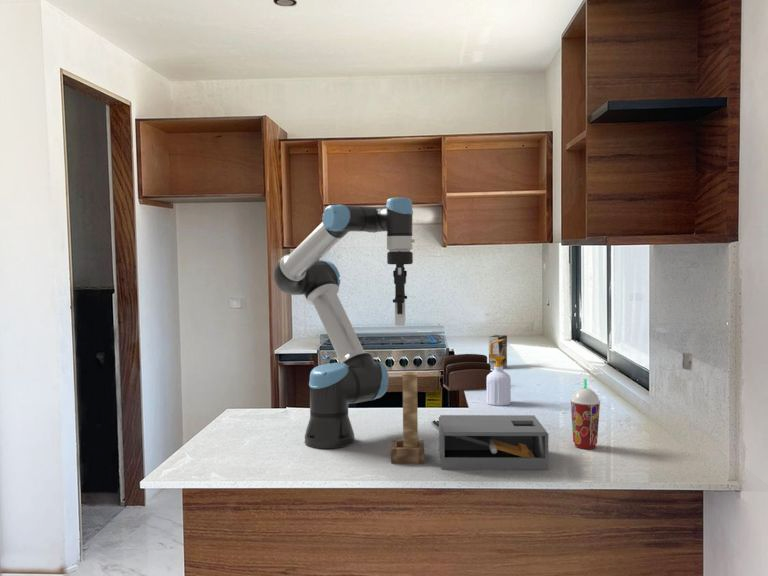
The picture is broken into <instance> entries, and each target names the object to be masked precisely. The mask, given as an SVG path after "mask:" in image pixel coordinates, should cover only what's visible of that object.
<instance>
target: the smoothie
mask: <svg viewBox="0 0 768 576" xmlns="http://www.w3.org/2000/svg"><path fill="white" fill-rule="evenodd" d="M583 382H584V383H583V384H584V385H583V386H584V388H583V387H582V388H580V389H577V390H576V391H575V392H574V393H573V395H572V397H571V398H570V408H571V409H570V410H571V428H572V441H573V443H574V446H575V447H576V448H578V449H582V450H593V449H595V448H596V446H597V444H598V438H599V437H598V435H599V421H600V409H601V400H600V399H599V397H598V395H597V393H596V391H594V390H592V389H590V388H588V387H587V386H588V385H587V383H588V381H587V378H585V379H584V381H583Z"/></svg>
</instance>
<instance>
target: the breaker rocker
mask: <svg viewBox="0 0 768 576" xmlns="http://www.w3.org/2000/svg"><path fill="white" fill-rule="evenodd" d="M454 437H457V438H460V439H464V440H467V441H471V442H474V443H477V444H481V445H484V446H487V447H489V448H490V450H489V451H490V452H491V454H492V455H496V454H497V453H498V451H501V452H503V453H504V452H505V453H507V454H511V455H515V456H518V457H525V458H536V455H535V453H534V452H533V450H529V449H528V448H527V446H526V445H525V444H521V443H519V444H518V446H515V445H511V444H508V443H505V442H501V441H498V440H495V439H492V437H491V436H485V437H484V436H454Z"/></svg>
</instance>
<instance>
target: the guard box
mask: <svg viewBox="0 0 768 576" xmlns="http://www.w3.org/2000/svg"><path fill="white" fill-rule="evenodd" d="M438 421H439V423H438V424H439V429H438V452H439V460H440V467H441V470H495V469H527V470H526V471H528V470H529V471H530V470H531V471H532V470H533V471H541V470H542V471H549V433H548V432H547V430H546V429H545V427H544V426H543V425H542V424H541V422H540V421H539V419H538V418H537V417H536V416H535V415H532V414H531V415H530V414H529V415H528V414H526V415H522V414H521V415H519V414H518V415H516V414H515V415H512V414H505V415H502V414H501V415H500V414H499V415H492V414H488V415H487V414H486V415H485V414H484V415H480V414H475V415H473V414H467V415H466V414H465V415H463V414H459V415H457V414H451V415H450V414H449V415H448V414H440V415H439V416H438ZM454 436H484V437H485V436H491V437H492V439H495V440H498V441H501V442H505V443H508V444H511V445H515V446H518V444H519V443H521V444H525V445H526V446H527V448H528V449H529V450H531V451H532V452H533V453H534V455H535V458H525V457H521V456H518V457H507V456H506V457H504V456H503V457H498V456H496V457H495V456H493V457H492V456H491V457H490V456H489V457H487V456H486V457H485V456H484V457H481V456H480V457H479V456H473V457H472V456H471V457H469V456H462V457H461V456H448V457H447V456H445V455H446V454H445V451H491V450H490V448H489V447H487V446H484V445H481V444H477V443H474V442H471V441H467V440H464V439H460V438H457V437H454Z"/></svg>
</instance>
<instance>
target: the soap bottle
mask: <svg viewBox="0 0 768 576" xmlns="http://www.w3.org/2000/svg"><path fill="white" fill-rule="evenodd" d="M501 341H503V339H501V340H497V341H494V342H493V343H491V345H490V357H491V358H492V359H495V361H496V364H494V369H493V370H492V371H493V372H491V373H489V374H488V375H487V389H486V404H488V405H490V406H497V407H503V406H509V405H510V404H511V402H512V401H511V394H512V392H511V389H512V388H511V387H512V386H511V384H512V383H511V382H512V381H511V379H512V378H511V375H509V373H507V372H506V371H504V368H503V365H502V364H501V361H502V359H504V358H505V357H503V356H494V355H493V344H494V343H497V342H501Z"/></svg>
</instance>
